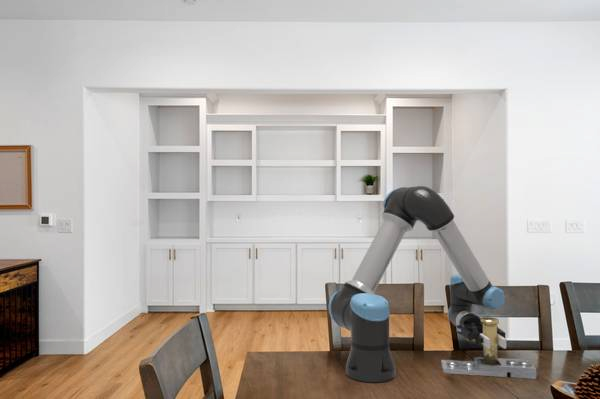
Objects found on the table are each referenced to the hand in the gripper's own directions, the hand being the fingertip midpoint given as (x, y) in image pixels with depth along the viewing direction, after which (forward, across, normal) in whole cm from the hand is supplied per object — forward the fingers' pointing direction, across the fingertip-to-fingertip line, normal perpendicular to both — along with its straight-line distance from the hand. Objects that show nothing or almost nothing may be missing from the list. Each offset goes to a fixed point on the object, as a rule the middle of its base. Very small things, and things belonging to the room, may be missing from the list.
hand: (496, 343), depth 135 cm
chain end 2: (-5, -4, -10) cm, 12 cm away
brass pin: (-5, 0, -8) cm, 10 cm away
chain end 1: (-6, +5, -10) cm, 13 cm away
